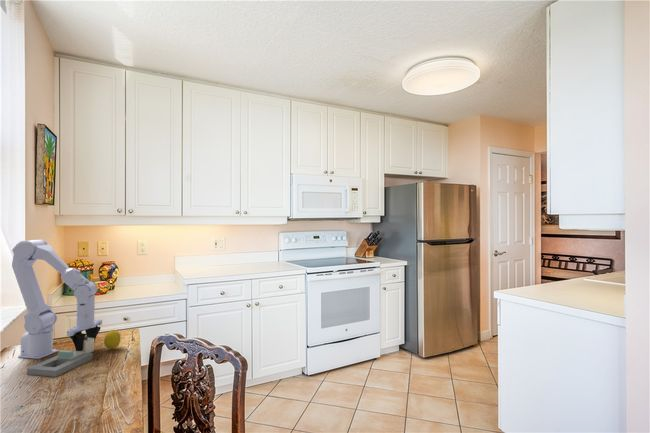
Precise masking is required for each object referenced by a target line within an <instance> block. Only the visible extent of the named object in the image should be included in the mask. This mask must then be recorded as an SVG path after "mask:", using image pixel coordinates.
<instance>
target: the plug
mask: <svg viewBox="0 0 650 433" xmlns="http://www.w3.org/2000/svg"><path fill="white" fill-rule="evenodd" d="M82 351H84V352H86V353H92V352H94V351H95V342H94V338H88V336H85V338H84V342H83V350H82Z"/></svg>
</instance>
